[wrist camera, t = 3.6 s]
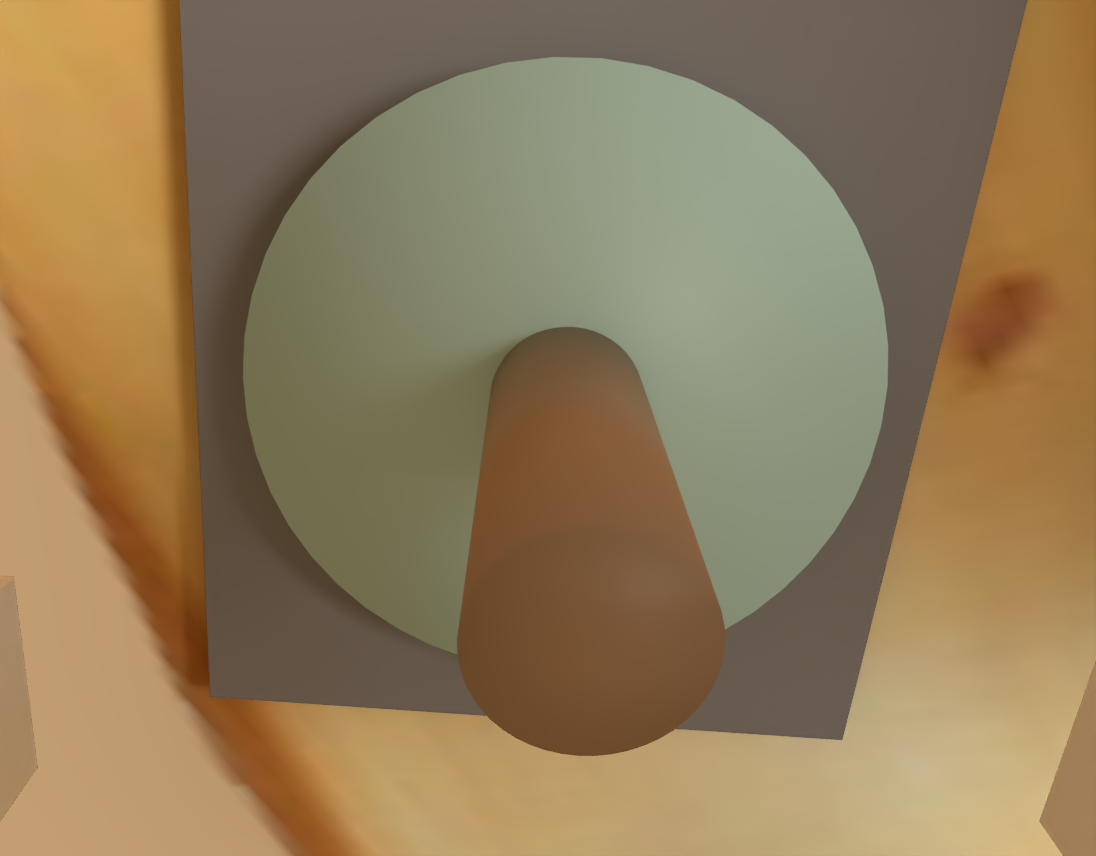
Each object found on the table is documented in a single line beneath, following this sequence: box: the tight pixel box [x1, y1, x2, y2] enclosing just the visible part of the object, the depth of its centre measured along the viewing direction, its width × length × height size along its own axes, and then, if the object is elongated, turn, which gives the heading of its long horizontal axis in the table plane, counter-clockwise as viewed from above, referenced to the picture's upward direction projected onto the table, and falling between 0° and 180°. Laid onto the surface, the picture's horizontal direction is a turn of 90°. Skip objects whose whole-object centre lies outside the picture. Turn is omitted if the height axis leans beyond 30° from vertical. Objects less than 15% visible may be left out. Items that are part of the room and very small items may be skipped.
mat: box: [179, 0, 1027, 740], centre depth 23 cm, size 20×18×1 cm
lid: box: [243, 57, 888, 756], centre depth 18 cm, size 15×15×11 cm
